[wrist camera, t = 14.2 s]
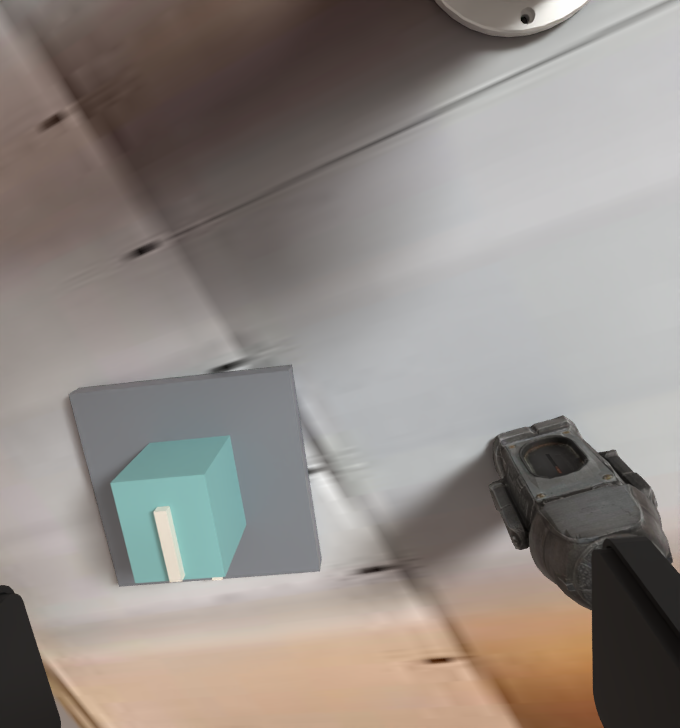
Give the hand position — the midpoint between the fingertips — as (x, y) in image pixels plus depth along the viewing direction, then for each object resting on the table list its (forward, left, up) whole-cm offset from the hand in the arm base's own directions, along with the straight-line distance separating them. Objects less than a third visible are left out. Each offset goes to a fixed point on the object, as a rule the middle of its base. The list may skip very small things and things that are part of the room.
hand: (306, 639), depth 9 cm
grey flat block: (+11, -13, -30) cm, 35 cm away
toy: (+12, +12, -31) cm, 35 cm away
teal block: (+11, -13, -29) cm, 33 cm away
